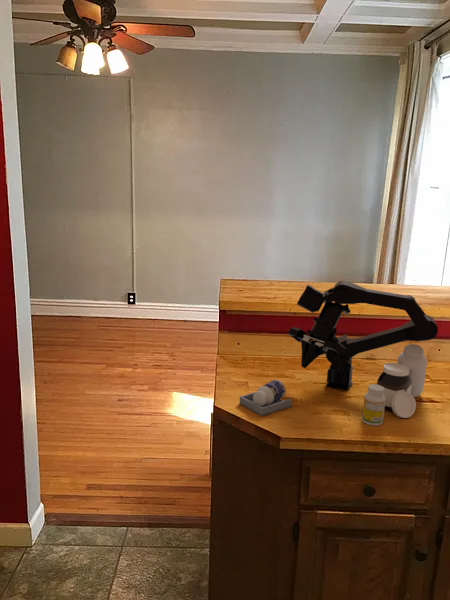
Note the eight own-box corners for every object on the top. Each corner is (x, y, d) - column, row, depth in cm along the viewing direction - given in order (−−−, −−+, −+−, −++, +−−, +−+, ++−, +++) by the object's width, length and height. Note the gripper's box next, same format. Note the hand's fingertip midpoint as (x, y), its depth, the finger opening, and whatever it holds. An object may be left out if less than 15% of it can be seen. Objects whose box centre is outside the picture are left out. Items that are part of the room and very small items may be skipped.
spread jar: (388, 397, 156) (392, 359, 153) (425, 410, 149) (430, 370, 146) (365, 408, 148) (370, 368, 145) (404, 423, 140) (409, 381, 137)
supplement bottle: (377, 428, 137) (381, 393, 134) (358, 421, 140) (361, 387, 138) (386, 421, 141) (390, 387, 139) (367, 414, 144) (371, 381, 142)
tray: (269, 394, 154) (269, 387, 154) (291, 406, 147) (292, 399, 147) (239, 403, 147) (239, 396, 147) (261, 416, 141) (261, 408, 140)
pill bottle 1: (289, 387, 149) (270, 398, 141) (281, 401, 151) (262, 413, 144) (275, 375, 151) (255, 385, 143) (267, 389, 153) (247, 400, 146)
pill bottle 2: (424, 381, 161) (430, 343, 152) (421, 400, 155) (426, 362, 146) (397, 376, 164) (401, 338, 155) (392, 394, 158) (396, 356, 149)
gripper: (366, 339, 156) (342, 387, 153) (318, 325, 170) (296, 369, 168) (346, 322, 149) (321, 372, 146) (299, 309, 164) (275, 354, 161)
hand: (303, 367), depth 156 cm, fingers closed
